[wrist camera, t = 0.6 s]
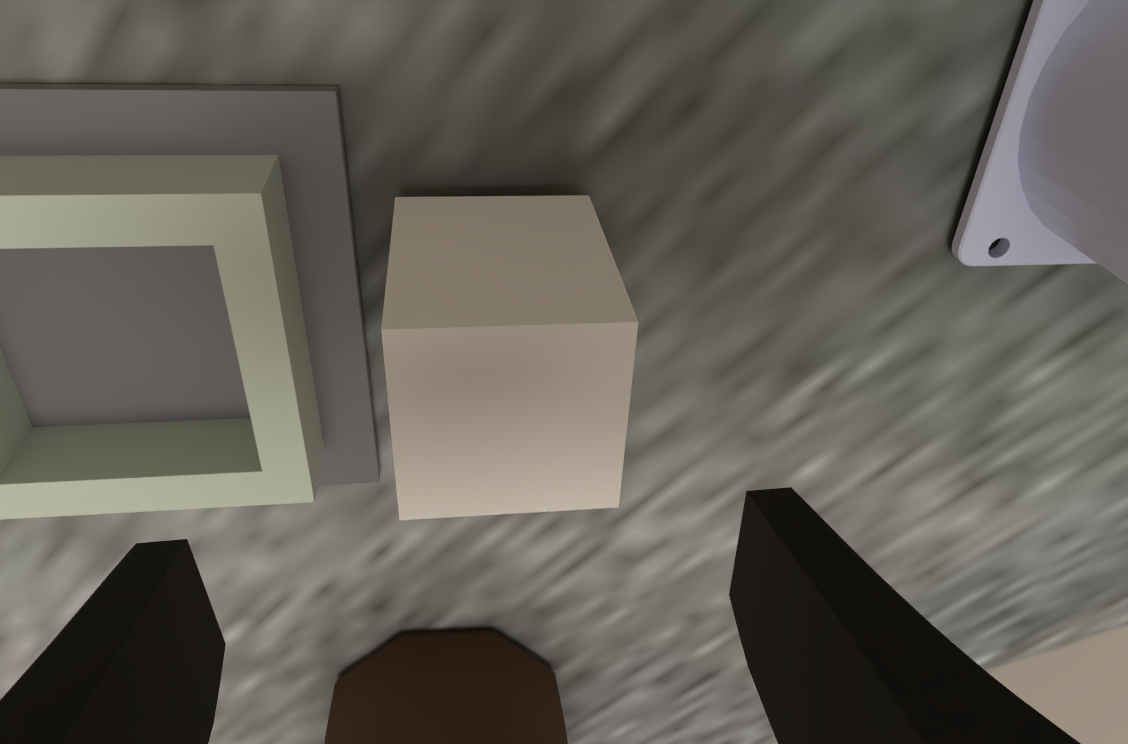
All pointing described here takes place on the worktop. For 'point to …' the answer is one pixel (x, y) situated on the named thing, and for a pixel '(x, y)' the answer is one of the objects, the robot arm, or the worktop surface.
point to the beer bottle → (447, 694)
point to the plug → (505, 356)
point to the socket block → (177, 299)
